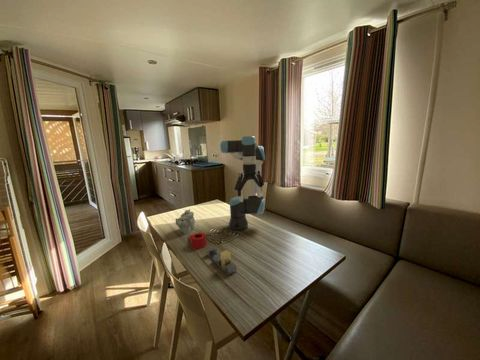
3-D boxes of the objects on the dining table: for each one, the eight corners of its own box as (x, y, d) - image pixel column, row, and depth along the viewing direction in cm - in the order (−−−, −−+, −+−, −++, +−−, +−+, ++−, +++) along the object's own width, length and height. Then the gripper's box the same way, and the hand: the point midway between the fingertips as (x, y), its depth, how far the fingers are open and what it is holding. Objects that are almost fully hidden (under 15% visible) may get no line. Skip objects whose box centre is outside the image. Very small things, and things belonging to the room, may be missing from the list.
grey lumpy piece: (177, 238, 143) (175, 215, 140) (174, 231, 155) (172, 210, 152) (198, 233, 150) (196, 211, 146) (193, 227, 162) (192, 206, 158)
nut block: (221, 266, 108) (220, 252, 107) (227, 263, 110) (226, 250, 109) (225, 270, 105) (224, 255, 103) (231, 267, 107) (230, 253, 106)
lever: (208, 245, 131) (208, 236, 130) (195, 250, 126) (194, 241, 125) (196, 236, 146) (196, 227, 144) (184, 240, 140) (183, 231, 139)
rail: (206, 254, 121) (206, 249, 120) (214, 252, 124) (214, 246, 123) (228, 275, 101) (227, 268, 101) (236, 271, 104) (236, 265, 104)
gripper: (234, 166, 106) (236, 205, 110) (269, 162, 120) (270, 196, 124) (227, 165, 112) (229, 202, 116) (261, 161, 126) (262, 194, 130)
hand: (250, 199), depth 120 cm, fingers open, 13 cm apart
